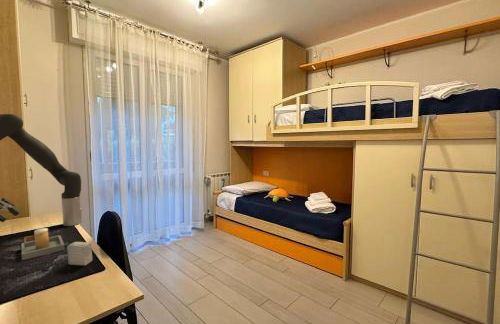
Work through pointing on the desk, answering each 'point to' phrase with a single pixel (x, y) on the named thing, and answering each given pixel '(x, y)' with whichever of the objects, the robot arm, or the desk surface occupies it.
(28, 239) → the holder
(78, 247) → the medicine box
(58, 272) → the desk surface
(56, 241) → the tray
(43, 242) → the pill bottle
